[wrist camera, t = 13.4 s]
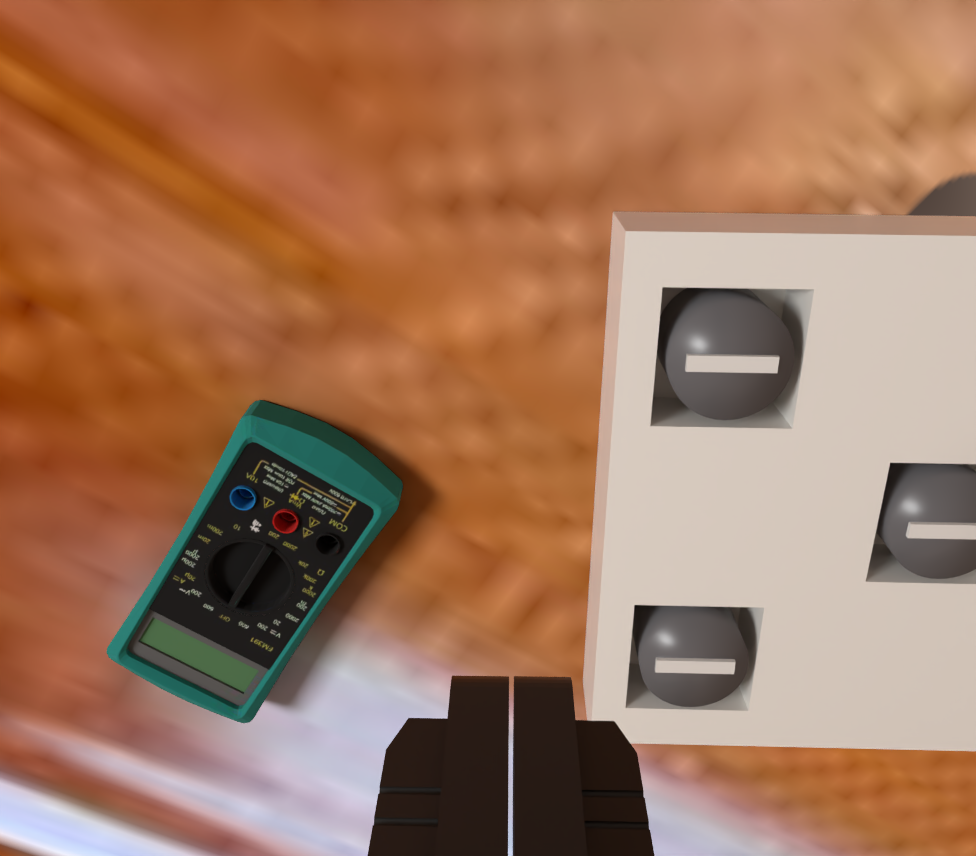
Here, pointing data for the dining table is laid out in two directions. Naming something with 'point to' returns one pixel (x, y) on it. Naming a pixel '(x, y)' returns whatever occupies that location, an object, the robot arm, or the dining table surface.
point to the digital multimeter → (257, 560)
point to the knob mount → (789, 482)
